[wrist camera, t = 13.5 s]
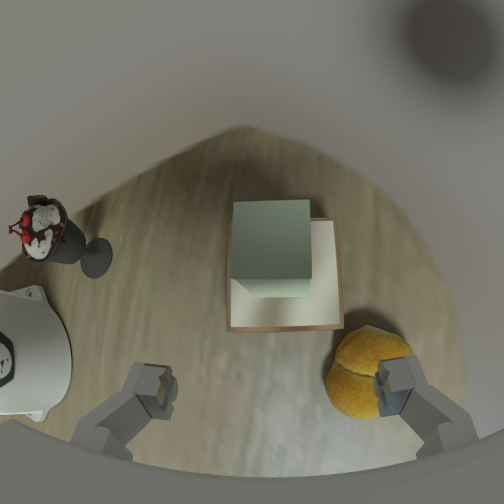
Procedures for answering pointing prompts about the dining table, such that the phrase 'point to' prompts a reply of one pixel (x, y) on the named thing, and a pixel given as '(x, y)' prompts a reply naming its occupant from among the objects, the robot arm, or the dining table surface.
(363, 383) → the bread roll
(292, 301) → the wooden square block
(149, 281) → the dining table surface
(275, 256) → the green pillar block
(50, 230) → the sundae
